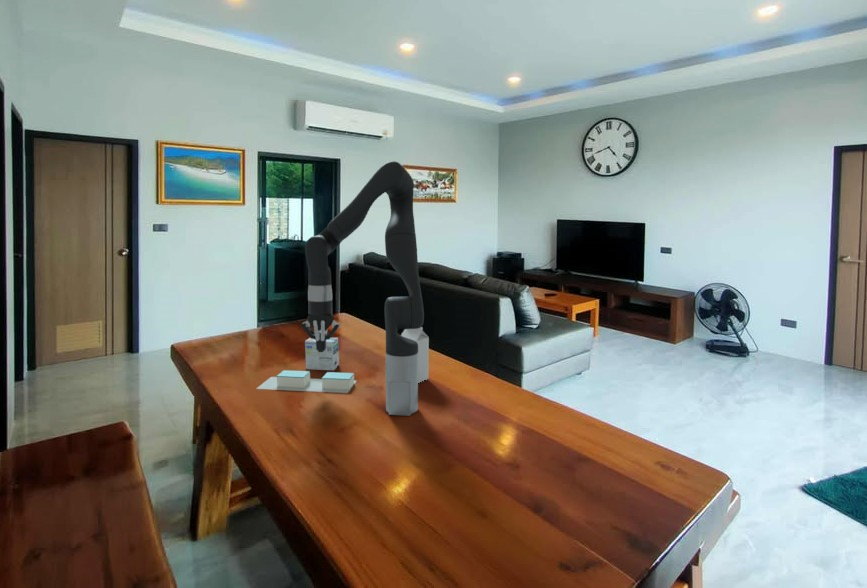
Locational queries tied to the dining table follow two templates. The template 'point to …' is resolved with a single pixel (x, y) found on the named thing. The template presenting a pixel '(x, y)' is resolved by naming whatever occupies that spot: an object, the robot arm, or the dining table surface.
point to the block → (338, 380)
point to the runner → (311, 386)
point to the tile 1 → (293, 378)
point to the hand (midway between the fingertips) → (321, 351)
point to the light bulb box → (322, 355)
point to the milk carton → (420, 350)
